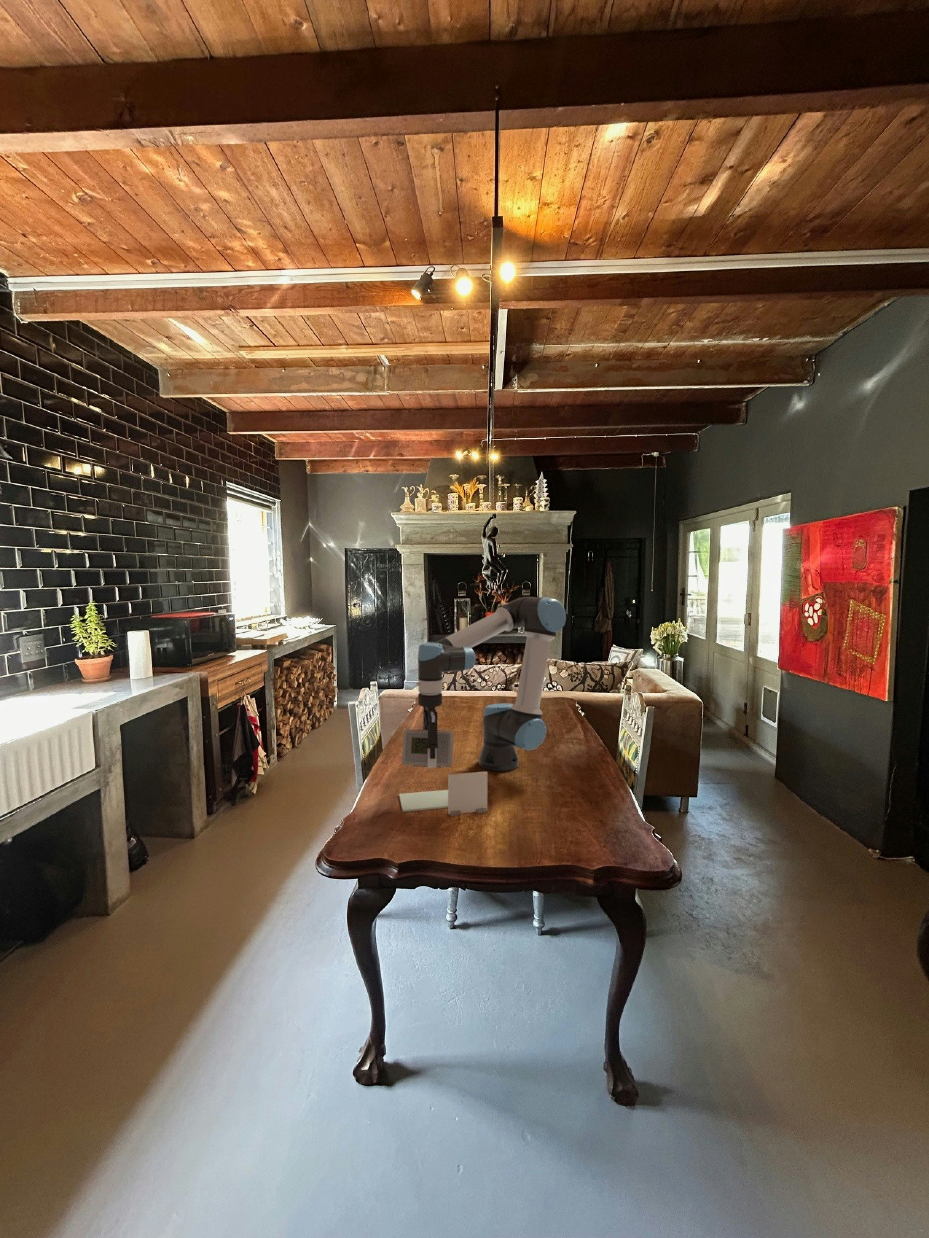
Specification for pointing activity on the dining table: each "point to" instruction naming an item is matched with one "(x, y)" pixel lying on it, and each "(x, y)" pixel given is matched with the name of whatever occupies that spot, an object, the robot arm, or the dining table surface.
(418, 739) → the digital clock
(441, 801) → the mat
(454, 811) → the screen
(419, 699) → the robot arm
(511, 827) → the dining table surface
